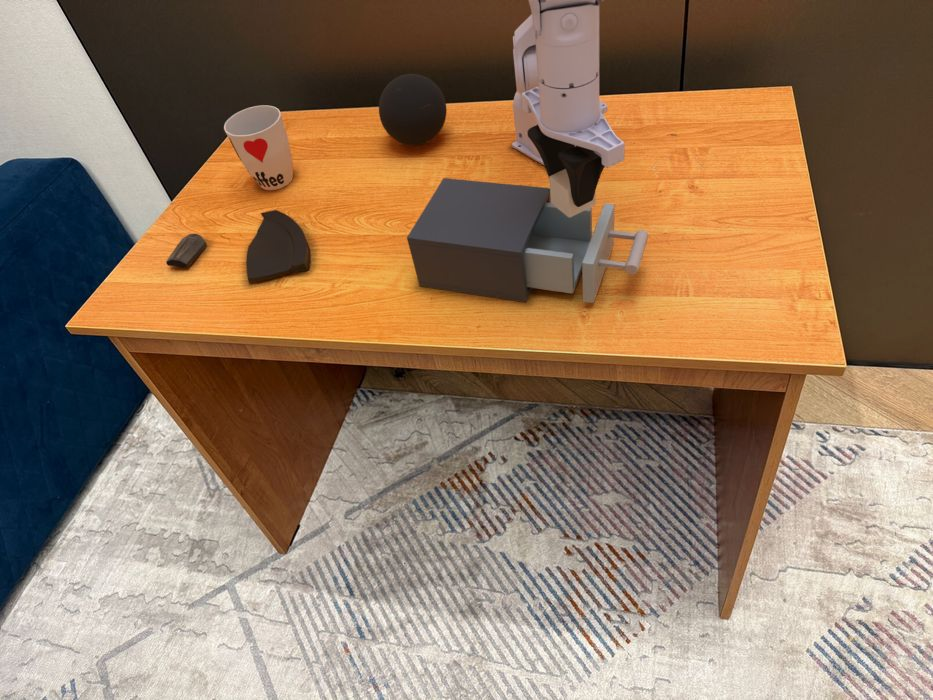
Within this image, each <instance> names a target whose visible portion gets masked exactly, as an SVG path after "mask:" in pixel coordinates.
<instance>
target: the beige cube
mask: <svg viewBox="0 0 933 700" xmlns="http://www.w3.org/2000/svg"><path fill="white" fill-rule="evenodd" d="M548 180H549V181H548V182H549V188H550V197H551V203H552V204H553V205H554V206H555V207H556V208H558V209H559V210H560V211H561V212H563V213H564V214H565V215H566V216H568V217H569V218H570V217H572V216H574V215H576V214H578V213H580V212H582V211H584V210H586V209H588V208H590V207H591V208H593V207H595V206H596V193H595V194H594V198H593V200H592V201H590V202H588V203H586V204H584V205H582V206H580V207H577V206H576V205H574V202H573V199H572V195H571V188H570V182H569V178H568V174H567V171H566V169H564V170H562V171H560V172H558V173H556V174H553V175H551V176H549V177H548Z"/></svg>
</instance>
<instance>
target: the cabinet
mask: <svg viewBox="0 0 933 700" xmlns="http://www.w3.org/2000/svg"><path fill="white" fill-rule="evenodd" d="M546 202H547V203H551V197H550V187H541V186H531V185H520V184H510V183H502V182H501V183H500V182H490V181H489V182H488V181H479V180H468V179H459V178H458V179H457V178H448V177H444V178H442V180H441V181H440V183H439V185H438V186H437V188H436V190H435V191H434V193H433V195H432V196H431V198H430V199H429V201H428V203H427V204H426V206H425V207H424V209H423V211H422V212H421V213H420V215H419V217H418V218H417V220H416V222H415V224H414V225H413V227H412V229H411V230H410V232H409V233H408V235H407V237H406V240H407V244H408V248H409V251H410V255H411V259H412V263H413V265H414V266H413V267H414V270H415V275H416V278H417V283H418V286H419V287H422V288H429V289H435V290H436V289H437V290H443V291H449V292H455V293H460V294H461V293H462V294H467V295H473V296H474V295H475V296H482V297H488V298H494V299H495V298H496V299H500V300H506V301H507V300H508V301H514V302H521V303H527V302H528V300H529V297H530V295H531V293H532V290H533V288H531V287H527V282H526V273H525V264H524V254H523V253H524V251H525V249H526V246H527V244H528V242H529V240H530V237H531V235H532V233H533V231H534V229H535V226H536V224H537V222H538V220H539V218H540V215H541V213H542V211H543V209H544V207H545V204H546Z"/></svg>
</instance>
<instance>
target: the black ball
mask: <svg viewBox="0 0 933 700" xmlns="http://www.w3.org/2000/svg"><path fill="white" fill-rule="evenodd" d="M378 115H379V119H380V123H381V125H382V126H383V129H384V130H385V132H386V133H387V134H388V135H389V136H390V137H391V138H392V139H393V140H395V141H396V142H399V143H400V144H403V145H406V146H420V145H424V144H427V143H428V142H431V141H432V140H433V139H435V138H436V137H437V136H438V135H439V133H440V132H441V131H442V129H443V127H444V125H445V123H446V118H447V103H446V99H445V95H444V94H443V92H442V89H441V88H440V87H439V86H438V84H437V83H435V82H434V81H433V80H431V79H430V78H429V77H427V76H424V75H422V74H417V73H406V74H402V75H399V76H397V77H396V78H394V79H392V80H391V81H390V82H388V84H386V86H385V88H384V89H383V90H382V93H381V95H380V98H379V102H378Z"/></svg>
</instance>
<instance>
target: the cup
mask: <svg viewBox="0 0 933 700" xmlns="http://www.w3.org/2000/svg"><path fill="white" fill-rule="evenodd" d="M223 131H224V132H225V134H226V136H227V138H228V140H229V142H230V144H231V147H233V149H234V152H235V154H236V156H237V157H238V158H239V161H240V162H241V163H242V165H243V167H244V168H245V169H246V171H247V172H248V174H249V176H250V177H252V179H254V181H255V182H256V183H257V184H258V185H259V187H260V188H261V189H262V190H265V191H276V190H281V189H282V188H284V187H286V186H288V185H289V184H291V182H292V181H293V179H294V173H293V172H294V171H293V169H294V168H293V166H294V165H293V156H292V152H291V145H290V141H289V136H288V133H287V129H286V126H285V123H284V120H283V117H282V113H281V111H280V109H279V108H277V107H276V106H273V105H266V104H265V105H264V104H262V105H255V106H251V107H247V108H245V109H242V110H240V111H237V112H236V113H234V114H233V115H231V116H230V117H229V118H228V119H227V120H226V121H225V122H224V125H223Z"/></svg>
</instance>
